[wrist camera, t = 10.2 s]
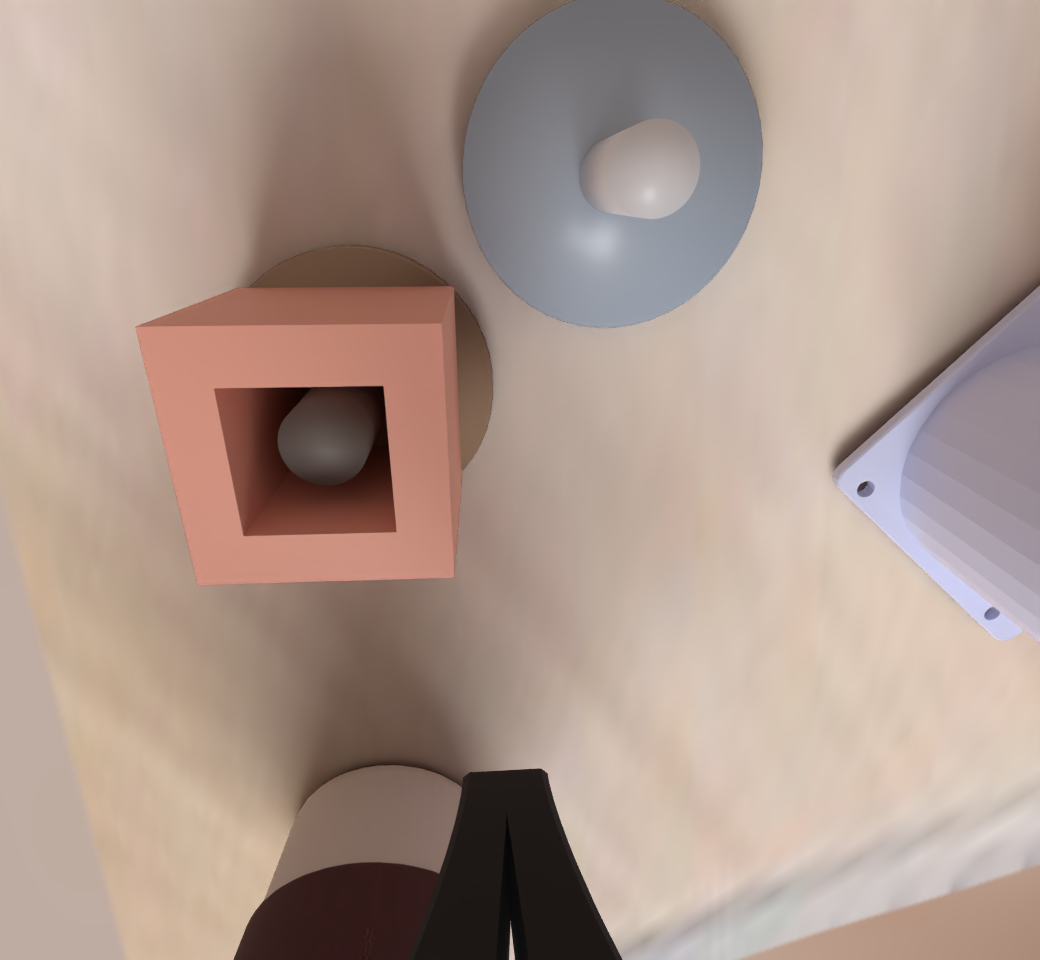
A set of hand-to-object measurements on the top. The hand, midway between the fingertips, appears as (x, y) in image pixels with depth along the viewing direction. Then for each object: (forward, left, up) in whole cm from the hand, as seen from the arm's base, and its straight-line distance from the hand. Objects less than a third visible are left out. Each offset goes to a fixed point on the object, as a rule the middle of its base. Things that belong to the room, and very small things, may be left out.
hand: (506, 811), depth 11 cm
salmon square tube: (+6, -2, -9) cm, 11 cm away
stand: (+5, -10, -9) cm, 14 cm away
